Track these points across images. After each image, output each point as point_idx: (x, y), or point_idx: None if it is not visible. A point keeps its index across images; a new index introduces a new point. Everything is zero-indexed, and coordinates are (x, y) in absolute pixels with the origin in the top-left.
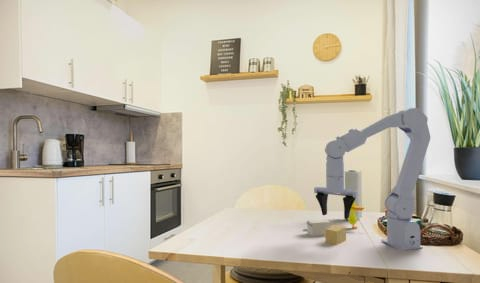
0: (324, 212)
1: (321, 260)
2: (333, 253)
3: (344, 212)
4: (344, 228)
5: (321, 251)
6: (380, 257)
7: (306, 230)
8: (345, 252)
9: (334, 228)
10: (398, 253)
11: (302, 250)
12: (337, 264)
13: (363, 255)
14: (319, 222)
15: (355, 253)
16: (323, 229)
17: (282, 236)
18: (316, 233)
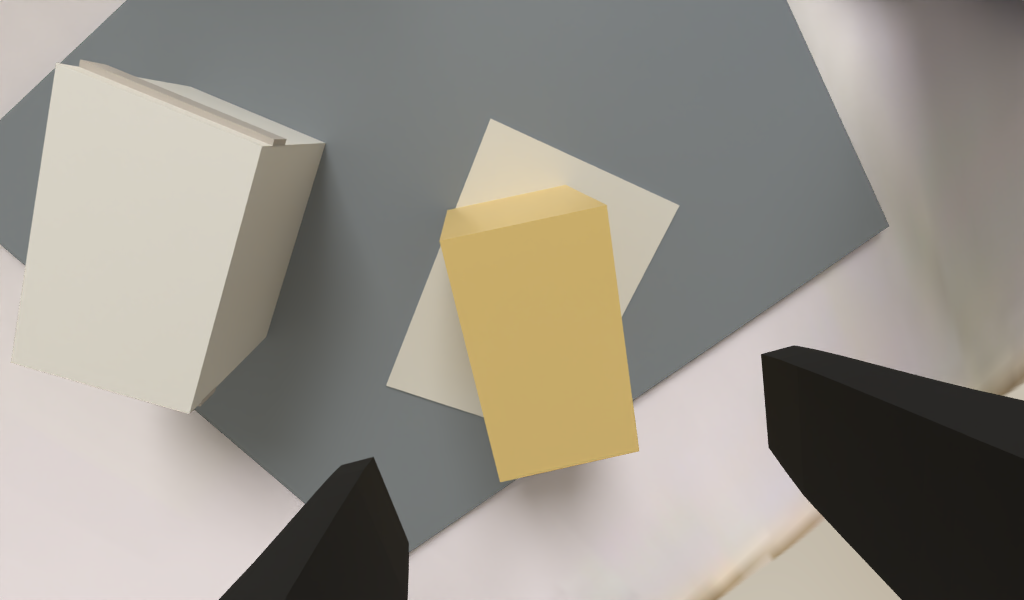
0: (401, 582)
1: (647, 590)
2: (632, 460)
3: (863, 551)
4: (610, 250)
5: (552, 495)
6: (917, 262)
7: (16, 208)
8: (682, 380)
9: (553, 387)
10: (1020, 47)
11: (455, 576)
12: (744, 562)
13: (806, 326)
14: (210, 310)
15: (746, 339)
16: (274, 234)
17: (82, 505)
18: (265, 306)
